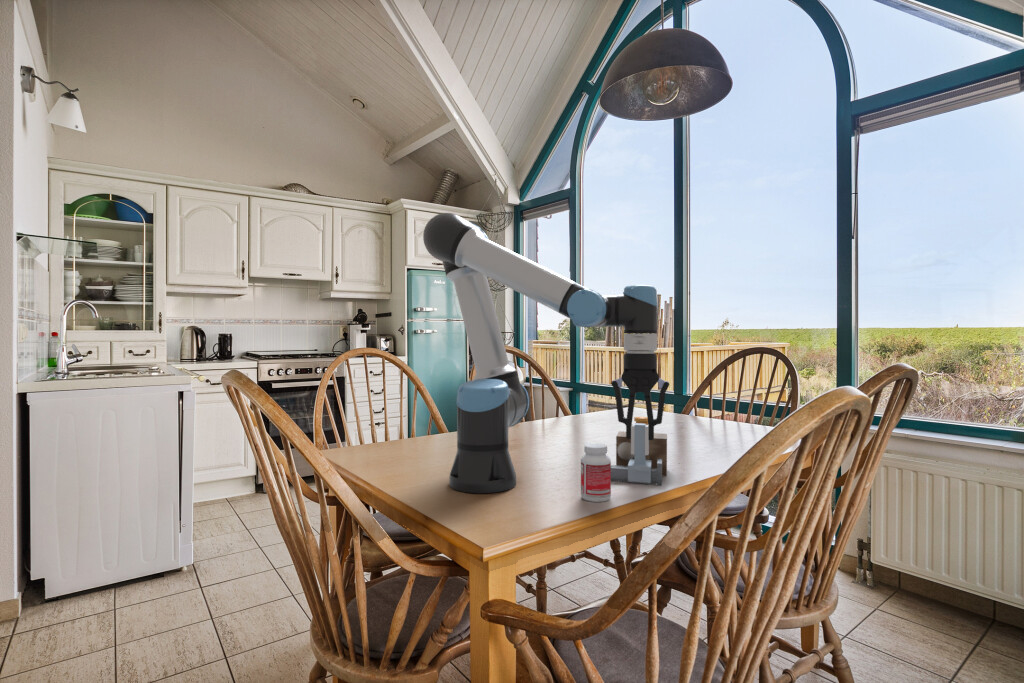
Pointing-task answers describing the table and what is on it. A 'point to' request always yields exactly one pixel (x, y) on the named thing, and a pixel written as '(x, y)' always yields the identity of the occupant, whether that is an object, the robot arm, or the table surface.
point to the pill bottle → (595, 473)
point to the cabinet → (655, 452)
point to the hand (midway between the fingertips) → (639, 453)
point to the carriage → (639, 458)
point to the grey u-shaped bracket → (622, 475)
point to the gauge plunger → (641, 420)
